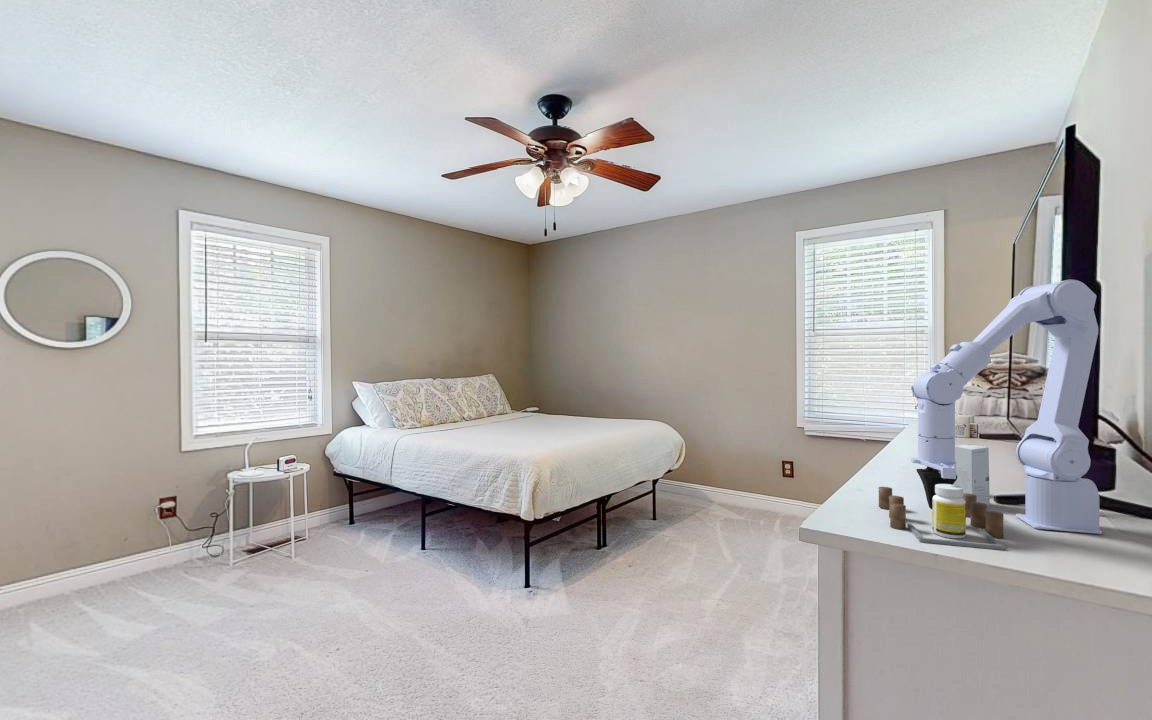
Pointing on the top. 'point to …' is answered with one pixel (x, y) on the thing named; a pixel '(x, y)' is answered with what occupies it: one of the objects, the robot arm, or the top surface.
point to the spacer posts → (973, 509)
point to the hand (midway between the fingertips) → (936, 508)
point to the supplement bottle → (949, 511)
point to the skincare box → (973, 471)
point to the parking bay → (994, 542)
